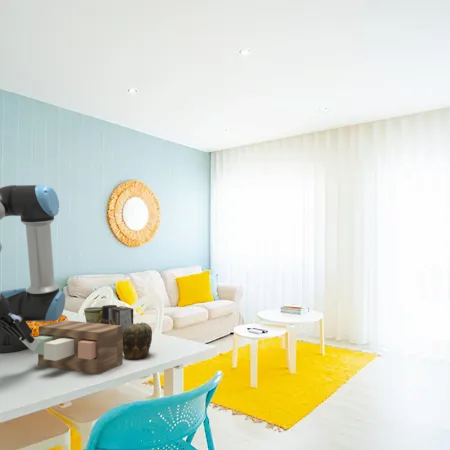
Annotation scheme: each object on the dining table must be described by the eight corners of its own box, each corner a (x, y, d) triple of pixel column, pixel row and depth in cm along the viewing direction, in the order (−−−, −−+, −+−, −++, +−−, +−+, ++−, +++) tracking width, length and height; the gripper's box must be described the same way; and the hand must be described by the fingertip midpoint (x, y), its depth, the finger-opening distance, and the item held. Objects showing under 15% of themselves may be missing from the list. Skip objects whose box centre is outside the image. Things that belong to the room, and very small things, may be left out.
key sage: (32, 353, 134) (32, 338, 134) (53, 346, 142) (53, 332, 142) (43, 354, 132) (44, 339, 132) (64, 348, 140) (64, 333, 140)
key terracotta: (77, 357, 128) (78, 341, 128) (97, 351, 136) (97, 336, 137) (90, 359, 126) (90, 343, 126) (109, 352, 134) (109, 337, 135)
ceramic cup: (79, 329, 195) (80, 308, 196) (97, 326, 203) (97, 306, 204) (95, 333, 187) (96, 311, 188) (113, 329, 195) (113, 308, 196)
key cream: (43, 359, 127) (44, 343, 127) (65, 352, 135) (65, 336, 135) (55, 360, 125) (56, 344, 125) (76, 353, 133) (77, 338, 133)
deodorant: (112, 343, 167) (112, 307, 167) (99, 343, 168) (99, 306, 169) (118, 340, 173) (119, 305, 173) (106, 339, 174) (106, 304, 174)
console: (38, 364, 137) (38, 326, 138) (64, 355, 149) (65, 320, 149) (98, 374, 127) (99, 332, 128) (122, 363, 138) (122, 325, 139)
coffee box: (134, 349, 157) (134, 308, 158) (119, 352, 153) (119, 310, 153) (121, 345, 164) (122, 305, 165) (107, 348, 159) (107, 307, 160)
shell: (158, 354, 150) (158, 322, 151) (137, 362, 141) (138, 327, 141) (136, 350, 156) (136, 319, 156) (115, 357, 146) (115, 324, 147)
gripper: (-35, 311, 117) (13, 354, 132) (-4, 314, 112) (43, 359, 127) (-18, 291, 122) (27, 335, 137) (13, 292, 117) (56, 338, 132)
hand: (35, 346), depth 132 cm, fingers closed
